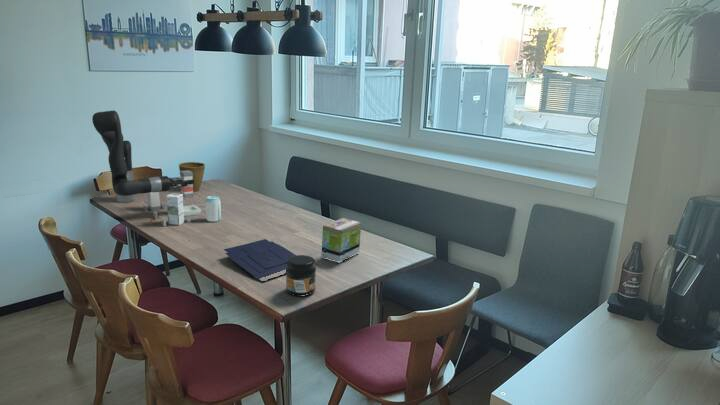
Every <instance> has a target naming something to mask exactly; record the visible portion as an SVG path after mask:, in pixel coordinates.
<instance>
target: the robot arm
mask: <svg viewBox="0 0 720 405" xmlns="http://www.w3.org/2000/svg"><path fill="white" fill-rule="evenodd" d="M91 119H92V125H93V127H94V130H95V131H97V133H98V134H99V135H100V137H101V139H102V140H103V142H104V144H105V145H106V147H107V150H108V153H109V154H108V164H109V169H110V173H111V183H112V190H113V192H114V194H115V200H116V202H117V203H122V204H123V203H131V202H134V201H135V200H136V199H135V195H138V194H147V193H150V192H159V193H163V192H169V191H170V189H171V187H172V188H177V189H181V187H185V186H187V185H189V184H194V180H181V179H180V176H178V177H168V176H167V175H163V176H161V175H160V176H152V177H149V178H140V179H135V180H134V174H133V162H132V157H133V156H132V143H131V141H129V140H124V135H123V133H122V131H123V130H122V125H121V119H120V117H119V114H118V112H117V111H116V110H107V111H98V112H95V113H94V114H93V115H92V118H91ZM184 183H185V184H184Z"/></svg>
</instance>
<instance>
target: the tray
mask: <svg viewBox="0 0 720 405" xmlns="http://www.w3.org/2000/svg"><path fill="white" fill-rule="evenodd" d="M183 213H184V218H186V216H189V217H192V216H199V215H202V209H201V208H199V207H197V206H196V205H194V204H192V205H191V204H190V205H183Z"/></svg>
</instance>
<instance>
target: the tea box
mask: <svg viewBox="0 0 720 405" xmlns="http://www.w3.org/2000/svg"><path fill="white" fill-rule="evenodd" d="M361 230H362V222H360V221H356V220H352V219H349V218H344V217H342V218H340V219H337V220H334V221H332V222H329V223H327V224H324V225H323V226H322V234H321V235H322V238H321V256H320V257H323V258H328V259H331V260H335V261H342V260H344V259H346V258H348V257H350V256H352V255H354V254H356V253H357V252H359V253H360V246H361V232H362V231H361Z"/></svg>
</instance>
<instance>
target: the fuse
mask: <svg viewBox="0 0 720 405" xmlns="http://www.w3.org/2000/svg"><path fill="white" fill-rule="evenodd" d="M146 195H147V207H148V211H151V212H156V211H161V205H160V203H161V202H160V201H161V200H160V192H150V193H146Z"/></svg>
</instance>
